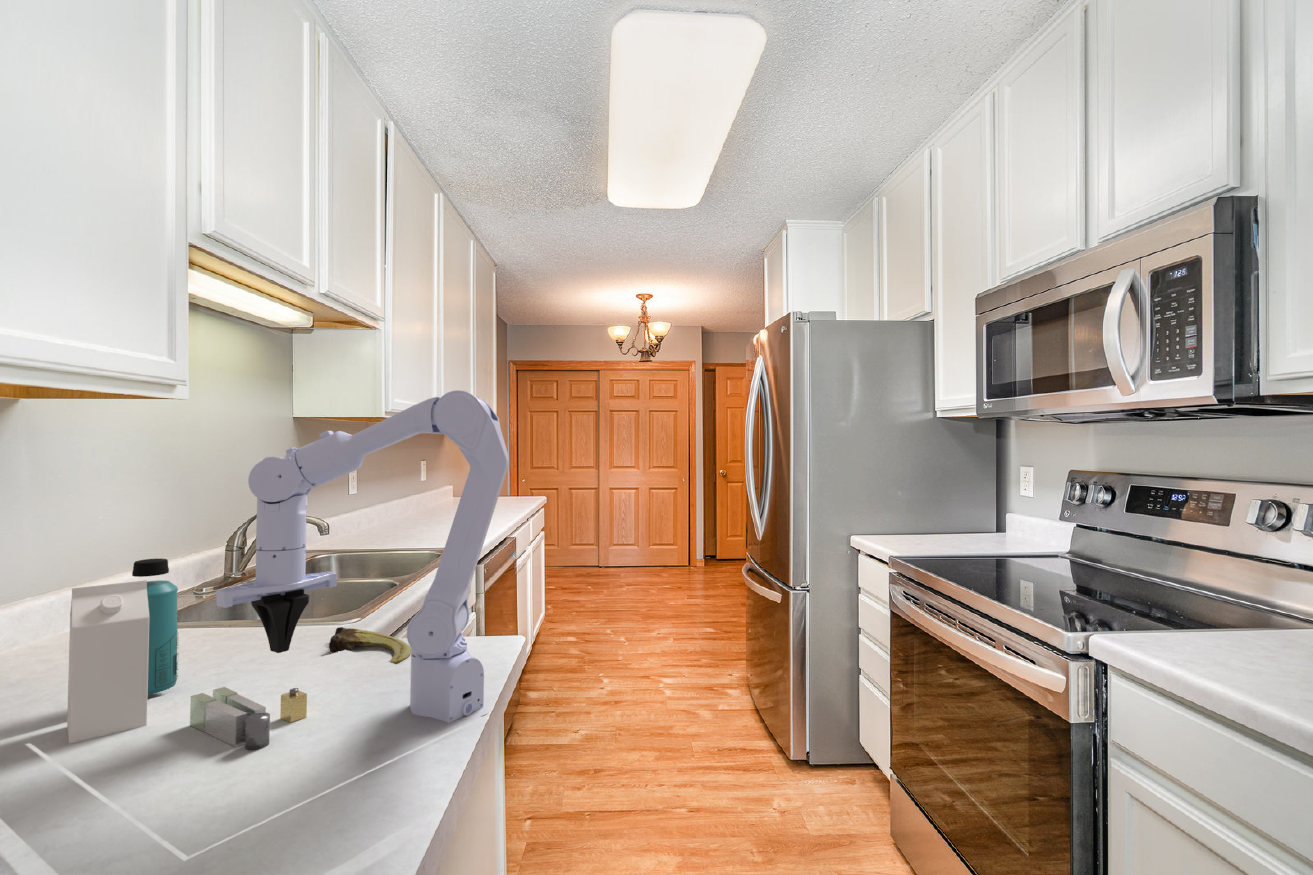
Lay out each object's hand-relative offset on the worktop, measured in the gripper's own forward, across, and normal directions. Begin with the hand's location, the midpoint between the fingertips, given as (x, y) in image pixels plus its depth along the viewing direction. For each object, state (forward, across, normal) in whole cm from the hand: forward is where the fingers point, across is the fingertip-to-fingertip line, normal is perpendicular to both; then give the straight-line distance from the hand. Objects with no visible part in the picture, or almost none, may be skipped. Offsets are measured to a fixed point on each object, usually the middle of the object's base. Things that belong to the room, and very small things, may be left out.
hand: (279, 650), depth 83 cm
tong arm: (+8, +5, +1) cm, 10 cm away
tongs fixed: (+8, +7, +2) cm, 11 cm away
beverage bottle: (+10, +6, -24) cm, 26 cm away
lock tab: (+8, 0, +4) cm, 9 cm away
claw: (+10, -25, -16) cm, 31 cm away
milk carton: (+10, +14, -14) cm, 21 cm away
